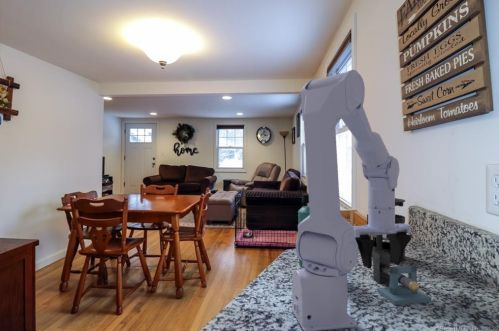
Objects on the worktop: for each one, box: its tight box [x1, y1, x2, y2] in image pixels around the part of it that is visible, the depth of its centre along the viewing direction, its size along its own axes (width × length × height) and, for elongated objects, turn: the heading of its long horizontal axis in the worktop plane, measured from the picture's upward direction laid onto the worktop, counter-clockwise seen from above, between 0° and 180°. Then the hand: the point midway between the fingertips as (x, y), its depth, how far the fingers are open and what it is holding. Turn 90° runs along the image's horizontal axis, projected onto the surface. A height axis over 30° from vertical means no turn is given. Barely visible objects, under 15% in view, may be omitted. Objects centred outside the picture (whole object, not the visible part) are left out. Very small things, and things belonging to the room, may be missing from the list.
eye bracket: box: [376, 264, 432, 306], centre depth 62 cm, size 6×8×6 cm
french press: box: [366, 197, 407, 263], centre depth 88 cm, size 12×9×23 cm
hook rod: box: [372, 251, 420, 292], centre depth 64 cm, size 13×3×7 cm, turn 8°
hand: (381, 265), depth 70 cm, fingers open, 7 cm apart
